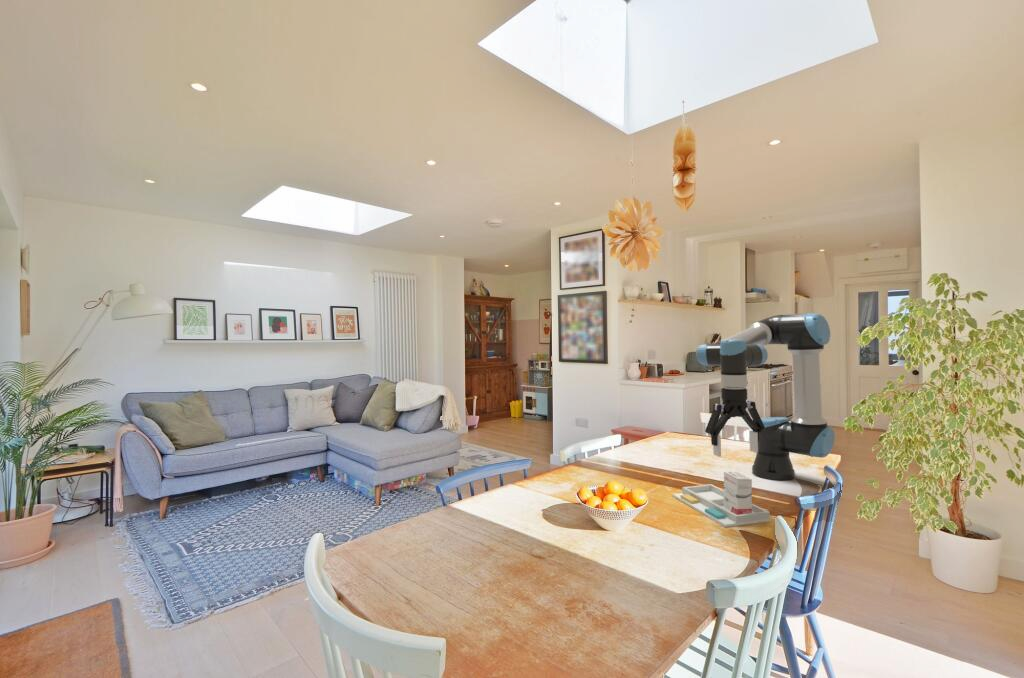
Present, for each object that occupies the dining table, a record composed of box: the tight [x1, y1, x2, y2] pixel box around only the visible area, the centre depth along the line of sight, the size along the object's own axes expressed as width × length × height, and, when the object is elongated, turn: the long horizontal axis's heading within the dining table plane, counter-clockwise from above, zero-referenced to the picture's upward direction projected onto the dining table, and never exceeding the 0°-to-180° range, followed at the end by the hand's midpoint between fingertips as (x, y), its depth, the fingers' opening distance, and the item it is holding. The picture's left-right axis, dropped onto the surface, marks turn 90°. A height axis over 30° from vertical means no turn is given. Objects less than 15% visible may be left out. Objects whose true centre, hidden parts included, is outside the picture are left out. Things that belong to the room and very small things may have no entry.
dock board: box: [672, 483, 771, 528], centre depth 155 cm, size 16×28×3 cm, turn 13°
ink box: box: [723, 471, 753, 515], centre depth 148 cm, size 9×5×12 cm, turn 5°
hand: (735, 453), depth 148 cm, fingers open, 13 cm apart
